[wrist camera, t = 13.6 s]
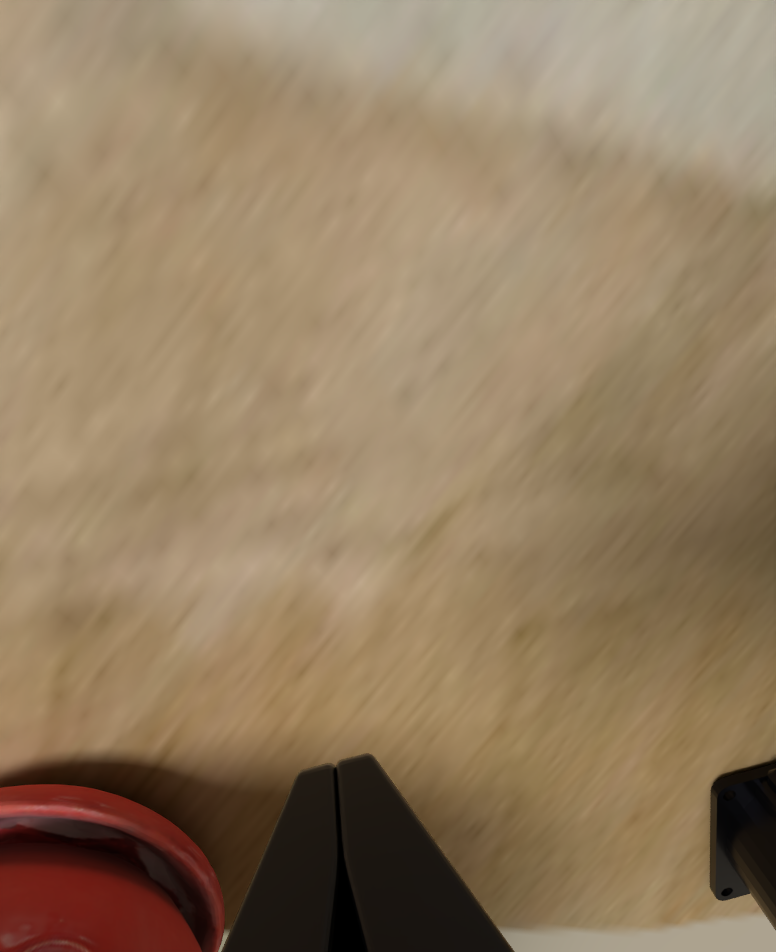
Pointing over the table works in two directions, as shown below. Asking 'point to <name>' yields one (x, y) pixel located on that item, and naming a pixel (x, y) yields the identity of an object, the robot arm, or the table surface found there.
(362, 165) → the table surface
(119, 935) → the plant pot
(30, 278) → the table surface
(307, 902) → the robot arm
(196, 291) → the table surface
